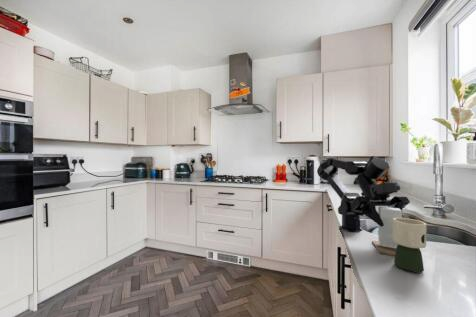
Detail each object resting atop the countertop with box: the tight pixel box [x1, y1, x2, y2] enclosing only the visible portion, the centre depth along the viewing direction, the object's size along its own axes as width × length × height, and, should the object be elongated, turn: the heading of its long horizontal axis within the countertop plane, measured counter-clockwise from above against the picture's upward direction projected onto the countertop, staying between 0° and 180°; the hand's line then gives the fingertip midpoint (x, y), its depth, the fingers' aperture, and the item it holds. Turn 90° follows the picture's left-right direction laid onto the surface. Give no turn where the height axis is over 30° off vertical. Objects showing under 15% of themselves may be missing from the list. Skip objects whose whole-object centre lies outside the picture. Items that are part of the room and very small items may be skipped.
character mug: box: [393, 217, 427, 273], centre depth 57 cm, size 11×7×13 cm, turn 146°
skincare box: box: [377, 206, 403, 247], centre depth 69 cm, size 6×4×12 cm
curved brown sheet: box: [371, 240, 397, 257], centre depth 69 cm, size 10×8×1 cm
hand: (393, 225), depth 68 cm, fingers closed on skincare box, 7 cm apart
